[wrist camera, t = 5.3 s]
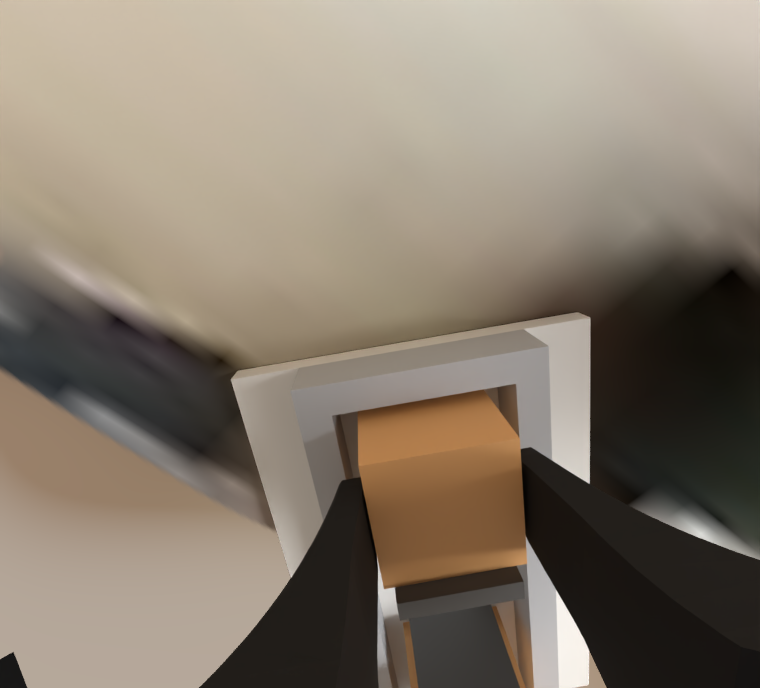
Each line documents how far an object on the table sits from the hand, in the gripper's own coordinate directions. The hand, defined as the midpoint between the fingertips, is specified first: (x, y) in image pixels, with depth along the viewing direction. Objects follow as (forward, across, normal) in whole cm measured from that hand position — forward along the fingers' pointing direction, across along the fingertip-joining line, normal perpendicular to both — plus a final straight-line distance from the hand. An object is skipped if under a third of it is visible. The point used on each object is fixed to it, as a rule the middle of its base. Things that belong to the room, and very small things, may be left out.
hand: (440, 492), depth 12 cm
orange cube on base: (+3, 0, 0) cm, 3 cm away
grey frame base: (+4, 0, +6) cm, 7 cm away
